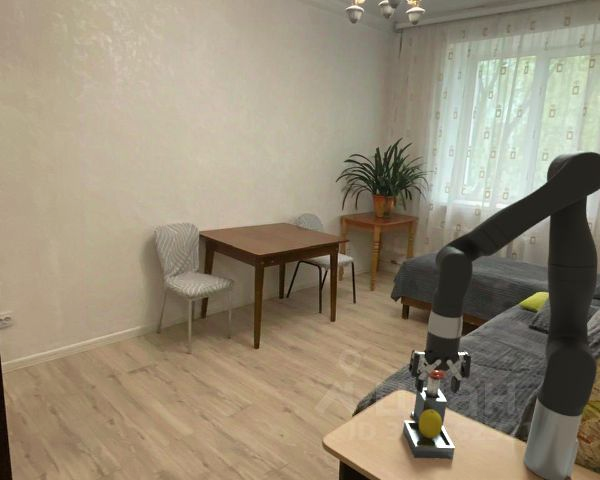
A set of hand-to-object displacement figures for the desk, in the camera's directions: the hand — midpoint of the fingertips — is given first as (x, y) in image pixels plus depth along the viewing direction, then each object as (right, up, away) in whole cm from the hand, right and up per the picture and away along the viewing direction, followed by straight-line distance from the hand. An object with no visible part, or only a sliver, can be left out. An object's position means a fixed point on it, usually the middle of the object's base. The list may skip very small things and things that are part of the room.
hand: (436, 391), depth 103 cm
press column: (+1, -13, +12) cm, 18 cm away
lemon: (-1, -13, +3) cm, 14 cm away
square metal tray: (-1, -15, +4) cm, 15 cm away
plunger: (+2, -7, +11) cm, 13 cm away
